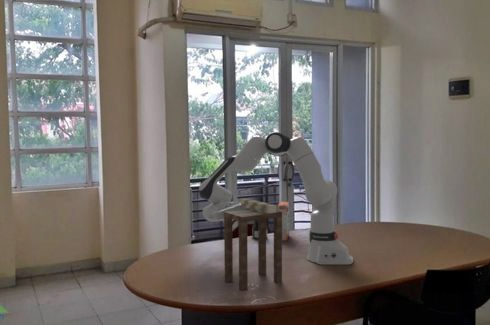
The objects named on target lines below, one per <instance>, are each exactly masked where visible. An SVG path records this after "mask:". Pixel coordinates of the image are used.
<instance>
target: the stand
mask: <svg viewBox="0 0 490 325" xmlns="http://www.w3.org/2000/svg"><path fill="white" fill-rule="evenodd" d="M268 219H273V282H274V283H277V284H278V283H282V282H283V241H282V212H280V211H278V210H276V213H266V212H262V211H258V210H255V209H251V208H247V209H243V210H235V211H227V212H224V221H223V226H224V228H223V229H224V232H223V234H224V236H223V237H224V243H223V244H224V246H223V249H224V252H223V253H224V282H225V283H227V284H228V283H233V281H234V275H233V274H234V272H233V270H234V267H233V265H234V264H233V262H234V261H233V260H234V259H233V258H234V256H233V247H234V246H233V220H234V221H238V290H239V291H242V292H243V291H248V286H249V285H248V278H249V277H248V271H249V270H248V267H249V266H248V222H251V221H253V222H254V220H258V239H257V244H258V246H257V248H258V251H257V252H258V254H257V256H258V258H257V259H258V263H257V264H258V265H257V266H258V267H257V268H258V269H257V270H258V275H260V276H266V275H267V238H266V226H267V220H268Z"/></svg>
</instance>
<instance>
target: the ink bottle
mask: <svg viewBox="0 0 490 325" xmlns="http://www.w3.org/2000/svg"><path fill="white" fill-rule="evenodd" d="M253 224H254V225H253V226H251V227H252V229H251V231H252V233H251V234H252V236H251V238H252V239H255V240H258V220H254V221H253ZM267 238H268V226H267V225H266V239H267Z"/></svg>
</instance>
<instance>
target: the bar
mask: <svg viewBox="0 0 490 325" xmlns="http://www.w3.org/2000/svg"><path fill="white" fill-rule="evenodd" d="M240 202H241V206H243V207H247V208H251V209H255V210H258V211H262V212H266V213H276V211H277V204H272V203H268V202H264V201H259V200H256V199H251V198H241V199H240Z"/></svg>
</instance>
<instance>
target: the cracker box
mask: <svg viewBox="0 0 490 325" xmlns="http://www.w3.org/2000/svg"><path fill="white" fill-rule="evenodd" d="M290 204H291V203H290V201H280V202H279V203H278V205H277V211H280V212H282V242H283V241H284V242H286V241H288V238H289V236H290V208H291V207H290Z"/></svg>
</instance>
